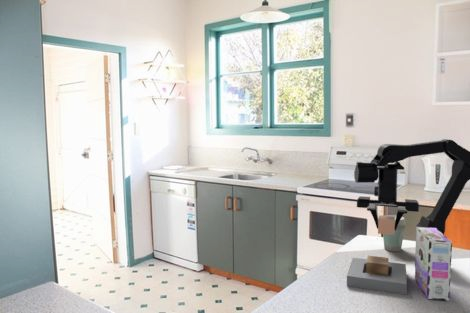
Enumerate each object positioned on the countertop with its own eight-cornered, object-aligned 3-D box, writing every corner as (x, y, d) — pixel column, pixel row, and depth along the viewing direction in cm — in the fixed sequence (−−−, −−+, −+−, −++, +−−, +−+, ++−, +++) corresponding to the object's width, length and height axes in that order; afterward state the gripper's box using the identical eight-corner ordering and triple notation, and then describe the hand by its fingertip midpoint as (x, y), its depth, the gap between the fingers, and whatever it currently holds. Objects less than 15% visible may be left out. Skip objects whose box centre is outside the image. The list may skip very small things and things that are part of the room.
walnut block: (388, 273, 119) (388, 257, 119) (387, 281, 114) (388, 264, 113) (367, 270, 121) (367, 255, 121) (366, 278, 116) (366, 262, 115)
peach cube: (394, 231, 130) (394, 216, 129) (394, 235, 125) (394, 220, 125) (378, 229, 132) (379, 215, 131) (377, 233, 127) (378, 218, 127)
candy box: (450, 301, 103) (453, 241, 101) (426, 299, 104) (428, 240, 102) (434, 280, 116) (436, 226, 115) (413, 279, 117) (415, 226, 116)
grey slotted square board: (405, 273, 122) (405, 263, 121) (406, 294, 107) (406, 284, 107) (352, 266, 128) (352, 257, 128) (346, 285, 113) (346, 275, 113)
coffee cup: (402, 254, 138) (403, 221, 137) (378, 250, 143) (378, 218, 142) (407, 247, 146) (407, 216, 144) (383, 243, 150) (384, 213, 149)
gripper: (417, 180, 131) (416, 225, 132) (360, 177, 138) (359, 220, 139) (419, 185, 120) (417, 234, 122) (357, 182, 128) (356, 228, 129)
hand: (386, 229), depth 128 cm, fingers closed on peach cube, 5 cm apart
